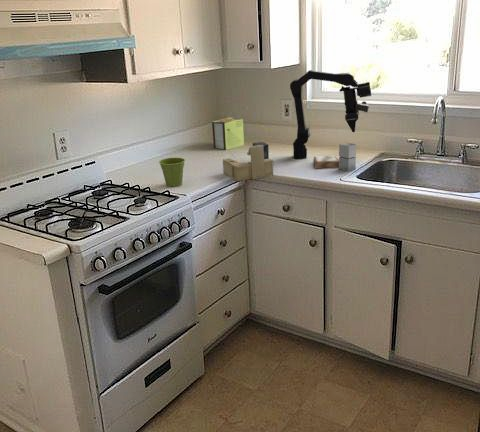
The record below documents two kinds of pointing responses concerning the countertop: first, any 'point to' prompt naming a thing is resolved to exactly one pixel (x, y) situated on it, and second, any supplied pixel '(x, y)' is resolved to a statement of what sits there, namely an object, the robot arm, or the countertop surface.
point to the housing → (347, 156)
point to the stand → (326, 162)
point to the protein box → (228, 133)
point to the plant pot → (172, 170)
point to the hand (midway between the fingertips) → (354, 130)
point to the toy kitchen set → (249, 166)
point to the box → (265, 147)
